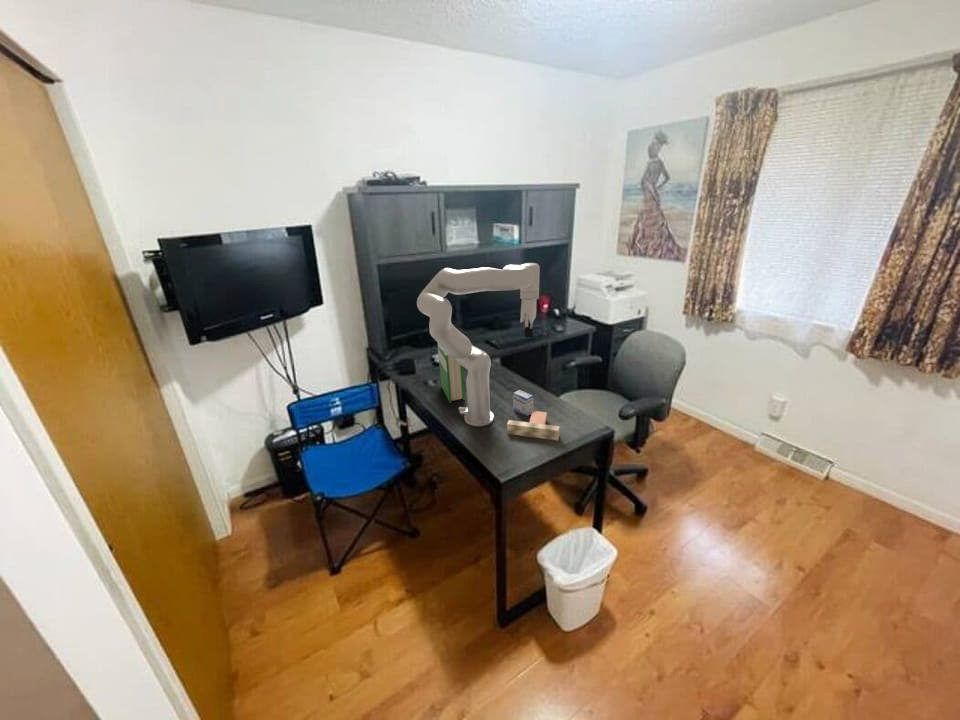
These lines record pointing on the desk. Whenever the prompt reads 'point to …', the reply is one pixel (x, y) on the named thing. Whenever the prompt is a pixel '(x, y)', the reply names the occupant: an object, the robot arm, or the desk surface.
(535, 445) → the desk surface
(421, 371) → the desk surface
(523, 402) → the medicine box
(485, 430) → the desk surface
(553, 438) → the board
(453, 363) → the hardback book
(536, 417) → the block
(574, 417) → the desk surface
